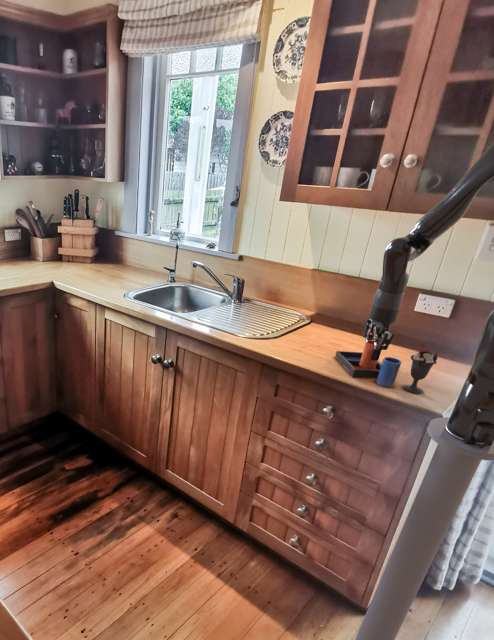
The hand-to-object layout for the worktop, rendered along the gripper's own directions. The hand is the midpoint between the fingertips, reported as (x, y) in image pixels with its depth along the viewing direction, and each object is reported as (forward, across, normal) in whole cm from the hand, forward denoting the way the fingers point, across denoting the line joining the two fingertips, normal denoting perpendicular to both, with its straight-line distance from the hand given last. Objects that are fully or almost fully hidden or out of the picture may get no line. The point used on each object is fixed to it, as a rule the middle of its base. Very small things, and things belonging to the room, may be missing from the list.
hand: (370, 356), depth 148 cm
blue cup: (+6, -7, -3) cm, 10 cm away
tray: (+6, +4, 0) cm, 7 cm away
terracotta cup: (+3, 0, 0) cm, 3 cm away
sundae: (+6, -10, -10) cm, 16 cm away
